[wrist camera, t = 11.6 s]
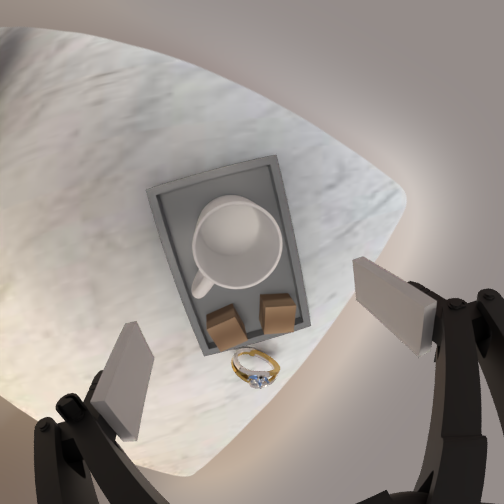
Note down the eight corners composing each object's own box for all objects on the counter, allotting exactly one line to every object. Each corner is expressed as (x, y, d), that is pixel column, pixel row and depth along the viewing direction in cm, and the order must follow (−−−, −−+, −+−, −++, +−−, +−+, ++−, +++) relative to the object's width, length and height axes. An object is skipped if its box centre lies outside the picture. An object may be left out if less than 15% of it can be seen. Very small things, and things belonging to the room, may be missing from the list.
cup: (275, 219, 35) (300, 235, 26) (221, 292, 37) (226, 331, 27) (222, 181, 33) (227, 182, 23) (169, 259, 35) (155, 290, 25)
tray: (150, 188, 33) (145, 189, 30) (271, 155, 34) (276, 154, 32) (204, 346, 40) (204, 356, 37) (305, 317, 41) (311, 325, 39)
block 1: (206, 314, 38) (206, 329, 34) (232, 303, 38) (234, 317, 34) (219, 336, 39) (220, 352, 35) (244, 325, 39) (248, 340, 35)
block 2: (259, 294, 38) (265, 307, 34) (288, 293, 38) (296, 305, 35) (259, 319, 39) (264, 334, 35) (286, 318, 40) (293, 332, 36)
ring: (227, 352, 41) (231, 386, 33) (235, 335, 40) (241, 369, 32) (267, 362, 42) (278, 395, 35) (276, 347, 42) (289, 379, 34)
